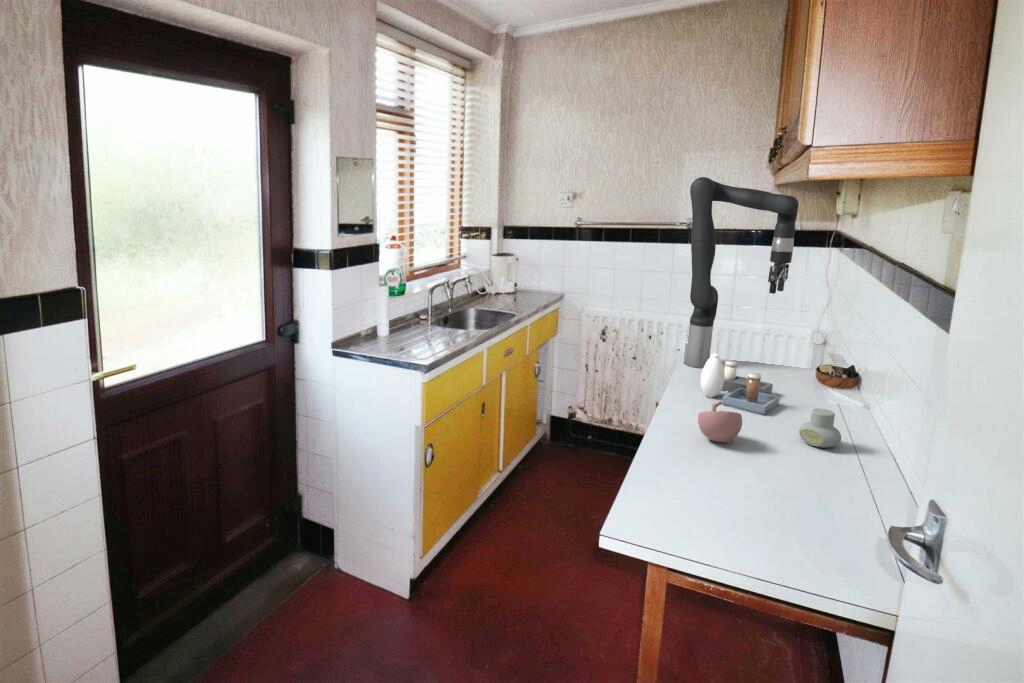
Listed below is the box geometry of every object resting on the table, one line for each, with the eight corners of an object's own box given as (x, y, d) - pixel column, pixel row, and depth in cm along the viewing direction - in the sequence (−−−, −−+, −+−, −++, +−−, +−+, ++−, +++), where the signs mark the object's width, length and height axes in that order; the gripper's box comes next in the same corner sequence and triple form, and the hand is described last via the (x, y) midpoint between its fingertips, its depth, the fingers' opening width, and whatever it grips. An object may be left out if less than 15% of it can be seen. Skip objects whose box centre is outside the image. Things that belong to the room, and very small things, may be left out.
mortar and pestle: (732, 433, 184) (736, 396, 182) (745, 449, 173) (750, 411, 170) (691, 431, 185) (695, 395, 182) (701, 447, 173) (706, 409, 170)
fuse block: (712, 388, 226) (713, 377, 225) (722, 383, 233) (724, 372, 232) (762, 400, 215) (763, 389, 214) (771, 394, 222) (772, 383, 221)
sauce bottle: (698, 398, 215) (704, 348, 210) (699, 391, 222) (704, 343, 217) (722, 401, 212) (728, 350, 208) (721, 394, 220) (727, 345, 215)
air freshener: (792, 440, 181) (797, 407, 179) (809, 435, 185) (814, 403, 183) (827, 454, 172) (833, 420, 170) (844, 448, 176) (850, 415, 174)
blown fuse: (742, 402, 209) (746, 374, 207) (747, 399, 212) (751, 372, 210) (754, 405, 207) (758, 377, 204) (759, 402, 210) (762, 374, 207)
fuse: (720, 388, 227) (723, 361, 225) (725, 385, 230) (728, 359, 228) (731, 390, 224) (734, 364, 222) (735, 388, 227) (739, 362, 225)
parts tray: (722, 404, 209) (723, 396, 208) (738, 395, 219) (739, 387, 219) (763, 415, 200) (765, 406, 199) (778, 405, 210) (780, 397, 210)
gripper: (778, 248, 242) (772, 289, 246) (765, 249, 231) (759, 292, 235) (798, 249, 237) (792, 291, 241) (785, 251, 227) (779, 295, 230)
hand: (776, 292), depth 238 cm, fingers open, 8 cm apart
